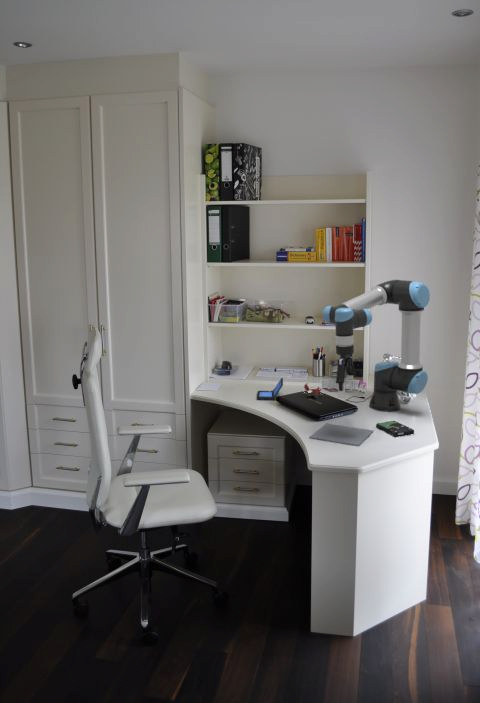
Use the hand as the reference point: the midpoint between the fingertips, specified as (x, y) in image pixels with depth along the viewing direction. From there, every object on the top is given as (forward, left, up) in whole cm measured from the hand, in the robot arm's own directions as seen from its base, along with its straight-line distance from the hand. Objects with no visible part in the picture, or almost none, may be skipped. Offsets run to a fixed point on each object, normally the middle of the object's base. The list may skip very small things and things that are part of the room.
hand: (345, 393), depth 292 cm
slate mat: (+1, -1, -19) cm, 19 cm away
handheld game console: (-42, -55, -19) cm, 72 cm away
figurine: (-51, -34, -19) cm, 64 cm away
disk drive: (-16, +18, -19) cm, 31 cm away
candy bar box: (0, -9, +3) cm, 10 cm away
